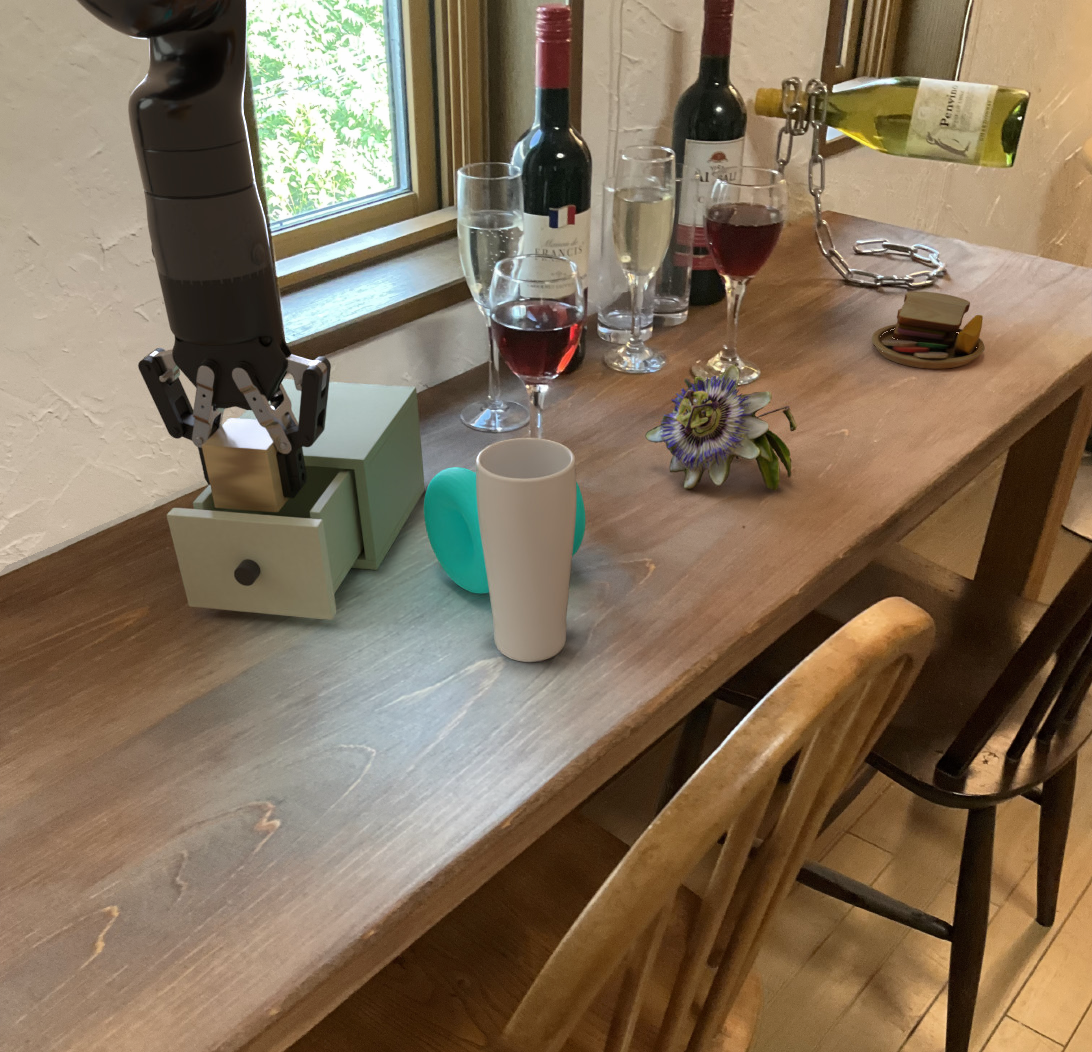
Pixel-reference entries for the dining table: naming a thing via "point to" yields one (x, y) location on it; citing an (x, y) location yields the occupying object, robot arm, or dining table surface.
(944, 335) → the toy sandwich meal
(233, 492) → the block
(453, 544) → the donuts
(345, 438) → the cabinet
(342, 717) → the dining table surface
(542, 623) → the drinking glass
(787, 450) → the passion flower
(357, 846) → the dining table surface
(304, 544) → the drawer
